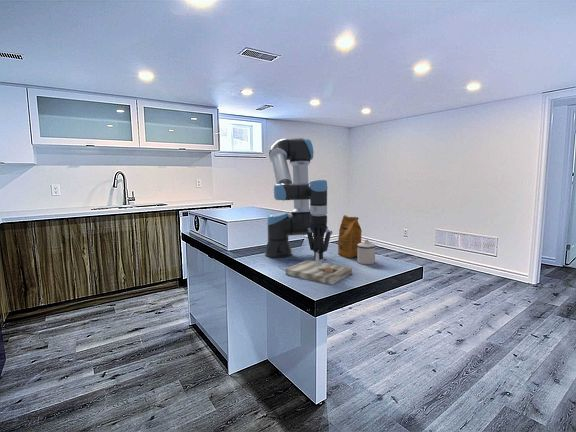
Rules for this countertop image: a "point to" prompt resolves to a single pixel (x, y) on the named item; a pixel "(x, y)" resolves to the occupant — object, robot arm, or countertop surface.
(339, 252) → the coffee package
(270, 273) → the countertop surface
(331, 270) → the ball
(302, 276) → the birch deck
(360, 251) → the teacup with lid
